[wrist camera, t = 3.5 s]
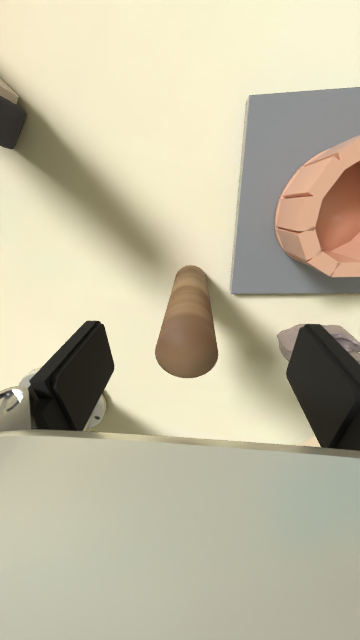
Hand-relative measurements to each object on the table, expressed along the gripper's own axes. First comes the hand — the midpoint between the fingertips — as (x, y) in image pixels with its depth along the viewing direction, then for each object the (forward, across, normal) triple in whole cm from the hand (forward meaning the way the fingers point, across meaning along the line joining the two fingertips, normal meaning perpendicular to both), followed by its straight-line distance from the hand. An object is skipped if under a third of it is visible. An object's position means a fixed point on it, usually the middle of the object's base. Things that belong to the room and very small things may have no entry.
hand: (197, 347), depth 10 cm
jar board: (+12, -10, -5) cm, 17 cm away
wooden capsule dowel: (+12, +1, +1) cm, 12 cm away
